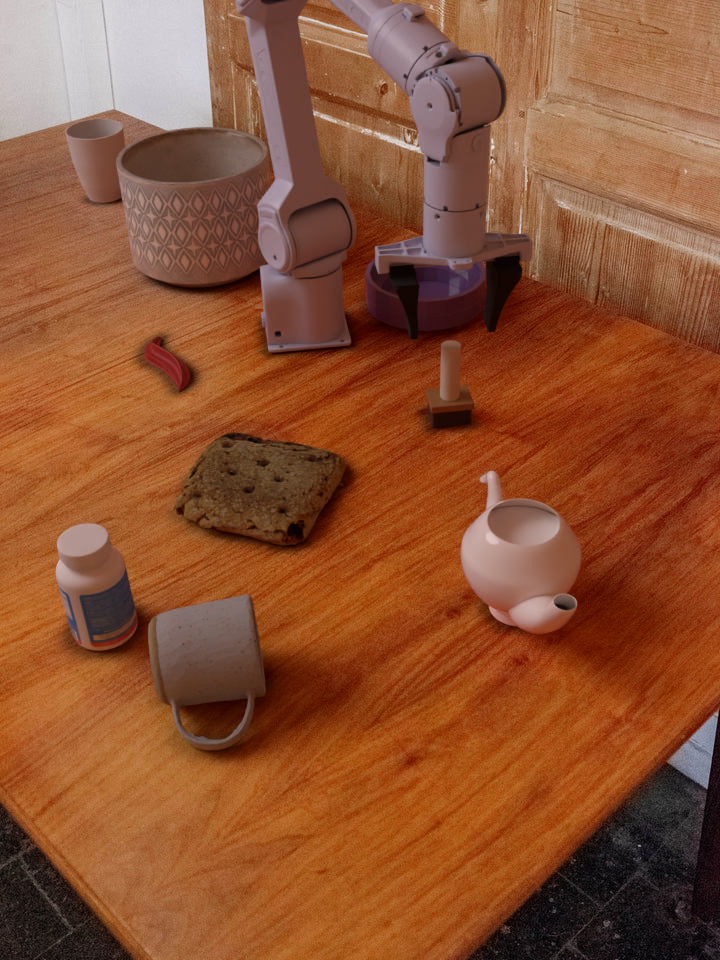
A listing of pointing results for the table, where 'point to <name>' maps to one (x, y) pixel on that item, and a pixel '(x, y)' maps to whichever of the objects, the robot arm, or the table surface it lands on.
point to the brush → (450, 391)
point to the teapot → (522, 561)
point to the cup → (97, 156)
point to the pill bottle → (95, 588)
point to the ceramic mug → (207, 660)
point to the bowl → (429, 296)
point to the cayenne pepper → (167, 363)
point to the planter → (194, 204)
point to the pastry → (260, 487)
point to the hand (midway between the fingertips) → (451, 330)
